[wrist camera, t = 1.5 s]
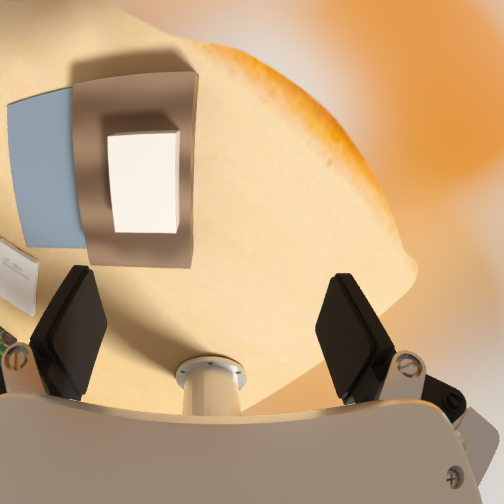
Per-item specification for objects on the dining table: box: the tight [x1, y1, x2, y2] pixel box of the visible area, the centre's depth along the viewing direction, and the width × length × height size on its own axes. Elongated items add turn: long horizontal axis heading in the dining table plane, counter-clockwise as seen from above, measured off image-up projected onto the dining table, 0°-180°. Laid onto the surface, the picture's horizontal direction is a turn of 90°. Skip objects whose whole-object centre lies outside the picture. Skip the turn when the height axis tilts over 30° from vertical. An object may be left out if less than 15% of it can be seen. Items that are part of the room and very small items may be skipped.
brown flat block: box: [72, 71, 199, 269], centre depth 26 cm, size 20×12×4 cm, turn 175°
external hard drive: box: [0, 238, 39, 316], centre depth 32 cm, size 2×8×12 cm
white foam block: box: [108, 130, 180, 233], centre depth 23 cm, size 9×6×2 cm, turn 175°
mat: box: [7, 87, 87, 249], centre depth 26 cm, size 20×13×1 cm, turn 175°
